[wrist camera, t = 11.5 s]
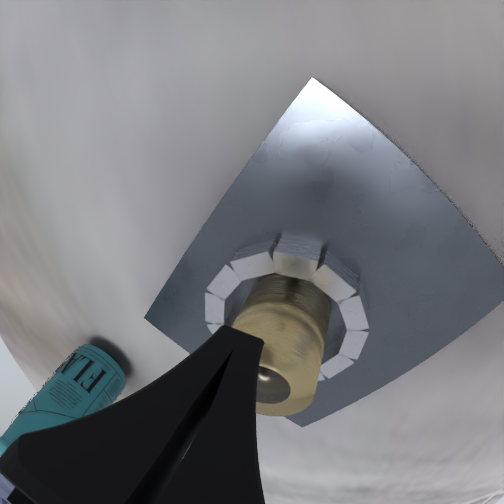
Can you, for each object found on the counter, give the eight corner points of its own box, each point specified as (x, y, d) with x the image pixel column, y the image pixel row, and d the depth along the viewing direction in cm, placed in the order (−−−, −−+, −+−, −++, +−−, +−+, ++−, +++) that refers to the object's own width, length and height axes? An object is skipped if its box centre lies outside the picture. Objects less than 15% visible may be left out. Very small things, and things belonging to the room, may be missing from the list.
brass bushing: (334, 277, 17) (319, 356, 12) (327, 345, 20) (310, 423, 14) (245, 268, 19) (202, 337, 14) (250, 334, 21) (217, 404, 16)
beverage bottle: (133, 349, 28) (9, 512, 11) (138, 388, 32) (41, 528, 15) (82, 323, 29) (-42, 459, 12) (92, 363, 33) (-7, 485, 16)
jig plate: (511, 279, 15) (525, 303, 13) (304, 418, 25) (298, 441, 23) (314, 78, 14) (307, 75, 12) (150, 310, 24) (133, 329, 22)
